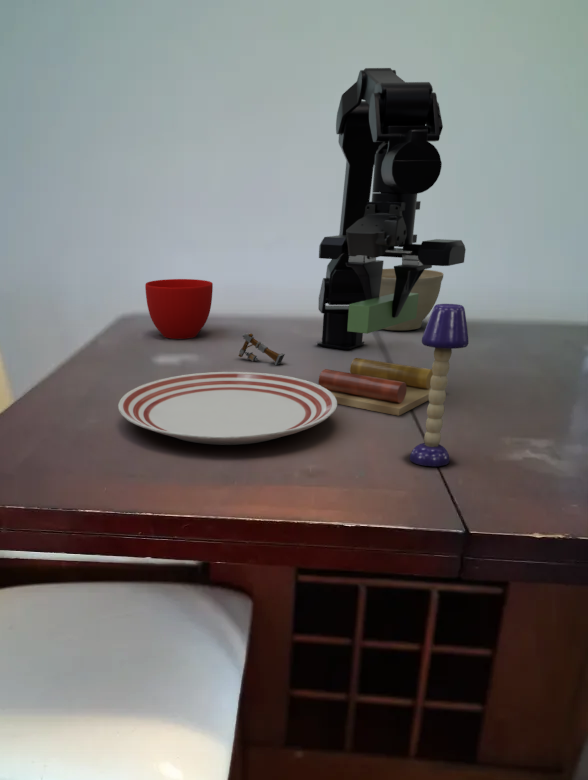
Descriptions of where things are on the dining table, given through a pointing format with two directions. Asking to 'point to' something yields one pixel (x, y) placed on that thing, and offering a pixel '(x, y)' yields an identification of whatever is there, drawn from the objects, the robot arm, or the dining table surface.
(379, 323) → the bar
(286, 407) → the dinner plate
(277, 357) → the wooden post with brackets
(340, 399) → the rod rack
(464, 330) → the toy lamp
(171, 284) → the ceramic cup
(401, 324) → the planter bowl
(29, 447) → the dining table surface
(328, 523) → the dining table surface
